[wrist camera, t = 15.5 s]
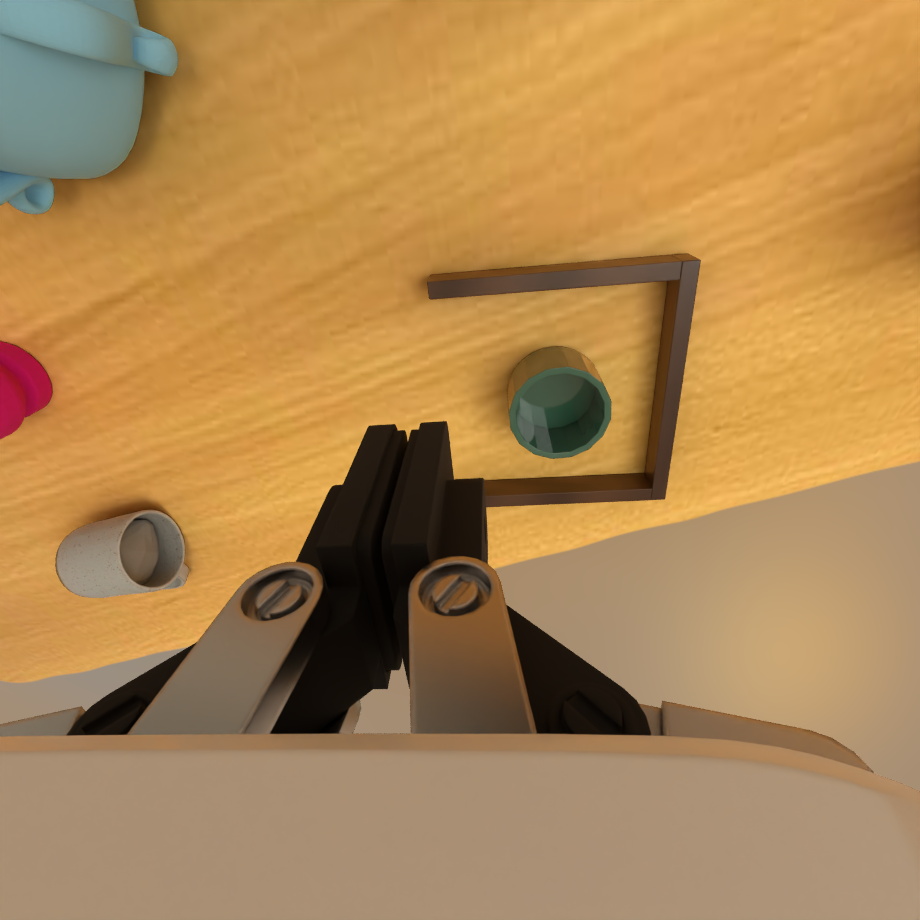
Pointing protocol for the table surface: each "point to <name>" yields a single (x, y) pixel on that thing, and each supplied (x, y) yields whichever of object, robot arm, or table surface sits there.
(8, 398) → the pepper mill
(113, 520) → the ceramic mug
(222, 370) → the table surface
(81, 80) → the decorative pot
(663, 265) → the walnut bay
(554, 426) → the green cup
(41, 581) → the table surface
